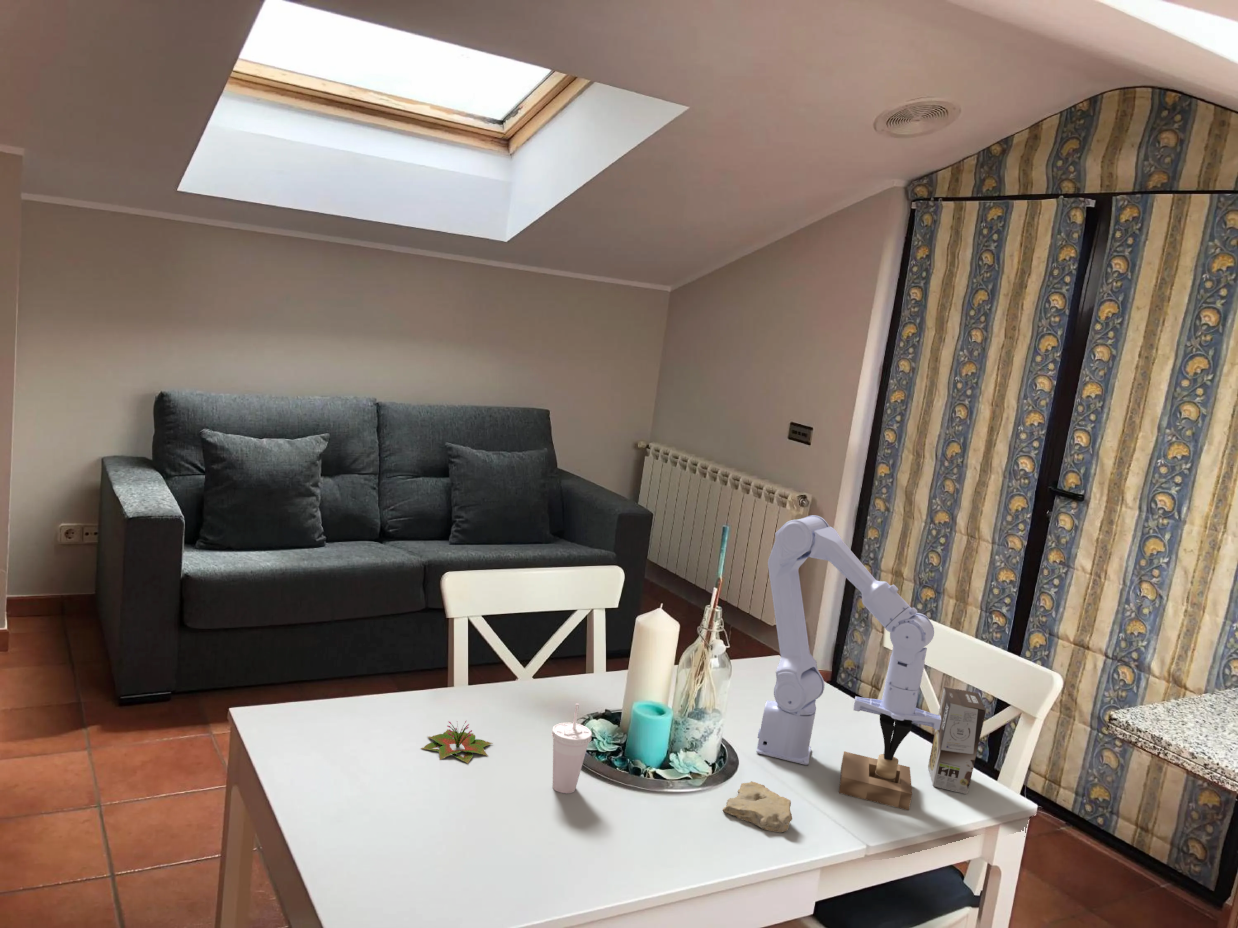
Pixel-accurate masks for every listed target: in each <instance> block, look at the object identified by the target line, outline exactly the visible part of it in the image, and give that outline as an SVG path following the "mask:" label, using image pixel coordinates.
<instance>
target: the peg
mask: <svg viewBox="0 0 1238 928" xmlns="http://www.w3.org/2000/svg"><path fill="white" fill-rule="evenodd" d="M877 759H878V762H877V767H876V771H875V778H877V779H881V780H885V781H889V782H893V783H894V782H895V779H896V772H897V766H898V764H899V759H898V758H897V757H896V756H895V755H894V756H893V759H892V760H888V759H884V753H881V754H879V755H878V756H877Z"/></svg>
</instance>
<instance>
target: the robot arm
mask: <svg viewBox="0 0 1238 928" xmlns="http://www.w3.org/2000/svg"><path fill="white" fill-rule="evenodd" d="M774 536H775V540H774V543H773V546H772V548H771V552H770V554H769V557H768V558H767V559H768V560H767V568H768V575H769V583H770V590H771V595H772V596H771V597H772V604H773V610H774V611H773V613H774V618H775V627H776V632H777V640H778V647H779V654H780V657H779V658H780V659H779V663H778V664H777V667H776V671H775V678H776V679H775V680H776V682H775V684H774V688H773V697H774V700H769V699H767V700H765V701H766V702H765V705H764V709H763V714H762V718H761V719H762V720H761V724H760V728H759V729H758V732H757V733H758V734H757V739H758V742H757V747H756V753H757V754H761V755H764V756H767V757H773V758H776V759H780V760H784V761H788V762H793V763H797V764H800V765H804V766H808V765H809V763H810V756H811V750H812V746H811V745H810V744H811V740H812V739H811V738H812V733H813V727H814V721H815V717H816V712H817V706H816V701H817V699H819V698H820V697H821V696H822V695H823V694H824V691H825V685H826V684H825V681H824V678H823V676H822V674H821V673H820V671H819V669H818V662H817V660H816V659H815V657H814V656H813V655H812V654H811V652H810V645H809V636H808V631H807V630H808V629H807V623H806V617H805V610H804V601H803V595H802V588H801V587H802V586H801V580H800V579H801V578H800V573H799V568H800V567H801V566H802V565H803V564H804V563H805V562H806V560H807V559H808V558H812V559H818V560H823V561H827V562H829V563H831V564H832V566H833V567H834V568H835V569H837V570H838V571H839V572H840V574H842V575H843V577H844V578H846V579H847V581H848V582H850V583H851V584H852V585H853V586H854V587H855V588H856V589H857V590H858V591H859V592H860V593H861V602H862V605H863V606H864V607H865V608H866V609H867V610H868V611H869V613H871V615H872V616H873V617H874V618H875V620H877V621H878V623H880V625H881V626H882V627H883V628H884V629H885V630H886V631H887V632H889V639H890V642H891V645H892V650H891V654H890V656H889V662H888V668H887V672H886V677H885V681H884V688H883V692H882V693H883V694H882V697H881V699H879V698H876V699H875V698H871V697H870V698H867V697H860V696H856V695H855V697H854V702H853V707H852V708H853V711H855V712H860V711H862V712H865V713H870V714H873V715H878V716H879V726H880V728H881V732H882V737H883V738H882V739H883V743H884V744H883V745H884V749H883V750H884V751H883V754H884V759H888V760H892V759H893V756H894V757H895V754H896V751H897V749H898V748H899V746H900V745H901V743H902V742H903V741H904V739H905V738H906V737H907V736H908V735H909V733H910V732H911V730H912V724H917V725H921V726H926V727H931V728H932V729H934V730H935V729H937V730H939V729H940V724H941V716H940V715H938V714H935V713H932V712H929V711H926V710H923V709H921V708H918V707H917V704H918V698H919V694H920V693H919V692H920V688H921V683H922V677H923V673H924V669H925V664H926V663H925V662H926V661H925V660H926V655H927V650H928V648H927V647H926V646H928V645H929V644H930V643H932V641H933V639H934V636H935V628H934V625H933V623H932V621H931V620H930V618H929V617H928V616H927V615H925V614H923V613H920V612H918V611H919V610H917V608H916V607H912V606H910V605H909V603H908V602H907V601H906V600H905V599H904V598H903V597H902V596H901V595H900V594H899V593H898V591H899V588H898V587H897V586H896V585H895V584H892V585H890V584H889V583H888V581H884V580H883V581H881V580H877V579H876V578H875V577H874V576H873V575H872V574H871V572H870V571H869V570H868V569H867V567H865V565H864V564H863V563H862V562H861V560H860V559H859V558H858V557H857V556H856V554H854V552H853V551H852V550H851V548H850V547H849V546H848V545H847V544H846V543H845V542H844V540H843V539H842V537H841V536H840V535H839V532H838V531H837V530H836V529H835V528H834V527H832V526H830V524H829V523H828V522H827V521H826V520H825V519H824V518H823V517H822V516H819V515H815V514H814V515H812V514H811V515H808V516H805V517H802V518H798V519H792V520H788V521H787V522H785V523H784V524H783V525H782V526H781V527H780V528H779V529H778V530H777V531H776V532H775V533H774Z"/></svg>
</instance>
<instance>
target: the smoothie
mask: <svg viewBox="0 0 1238 928" xmlns="http://www.w3.org/2000/svg"><path fill="white" fill-rule="evenodd" d="M579 709H580V703H577V702H576V703H575V708H574V714H573V720H572V721H573V722H570V721H569V722H560V723H557V724H555V725H553V727H552V730H551V737H552V788H553V790H554V791H556V792H557V793H561V794H571V793H574V792H575V791H576V789H577V785H578V781H579V777H580V775H581V770H582V768H583V765H584V764H583V763H584V760H585V757H586V752H587V751H588V750H587V749H588V746H589V743H590V742H591V741H592V735H593V733H592V730H590V728H588V727H587V726H585V725H583V724H580V723H577V722H578V716H579Z"/></svg>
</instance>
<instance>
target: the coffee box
mask: <svg viewBox="0 0 1238 928" xmlns="http://www.w3.org/2000/svg"><path fill="white" fill-rule="evenodd" d="M941 695H942V696H941V700H940V705H939V709H938V714H937V715H940V716H941V724H940V729H939V730H937V729H934V735H933V740H932V745H931V751H930V756H929V759H928V765H927V768H928V771H929V776H930V780H931V783H932V786H933V787H934V788H939V789H943V790H947V791H950V792H951V791H952V792H955V793H960V794H964V795H968V793H969V789H970V786H971V785H970V784H971V780H972V776H973V771H974V766H975V762H976V756H977V753H978V748H979V744H980V739H981V736H982V730H983V726H984V721H985V718H986V712H987V709H986V706H985V705H984V702H983V701H982V699H981V697H980V695H979V693H978V692H973V691H969V690H962V689H958V688H951V687H946V686H944V687H943V691H942V694H941Z"/></svg>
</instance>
